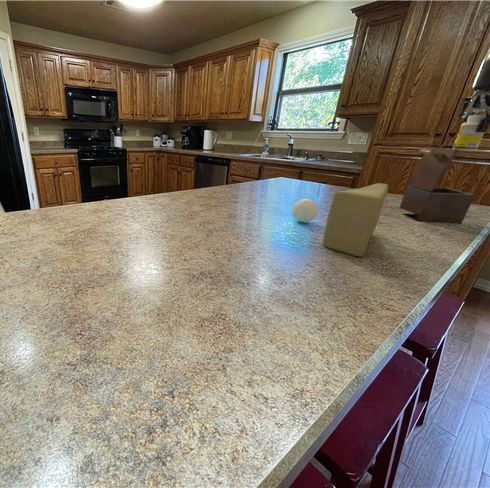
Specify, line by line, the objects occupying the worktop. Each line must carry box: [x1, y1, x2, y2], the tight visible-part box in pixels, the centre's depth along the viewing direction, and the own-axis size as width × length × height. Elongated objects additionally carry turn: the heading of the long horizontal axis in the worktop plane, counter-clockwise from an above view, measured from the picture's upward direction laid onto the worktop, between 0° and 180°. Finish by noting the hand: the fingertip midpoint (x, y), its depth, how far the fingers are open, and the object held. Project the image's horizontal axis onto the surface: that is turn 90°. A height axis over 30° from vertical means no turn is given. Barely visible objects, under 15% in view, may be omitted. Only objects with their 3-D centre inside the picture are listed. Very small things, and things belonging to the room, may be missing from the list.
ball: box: [291, 198, 319, 224], centre depth 88 cm, size 8×8×8 cm
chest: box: [399, 185, 476, 225], centre depth 93 cm, size 13×12×10 cm
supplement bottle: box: [451, 114, 485, 152], centre depth 84 cm, size 6×6×10 cm
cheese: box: [322, 182, 389, 257], centre depth 71 cm, size 22×10×15 cm, turn 128°
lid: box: [406, 146, 459, 192], centre depth 90 cm, size 13×12×5 cm
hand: (471, 132), depth 84 cm, fingers closed on supplement bottle, 5 cm apart
